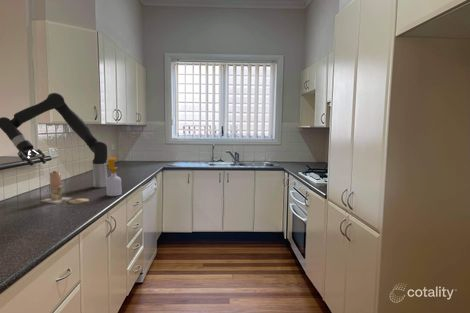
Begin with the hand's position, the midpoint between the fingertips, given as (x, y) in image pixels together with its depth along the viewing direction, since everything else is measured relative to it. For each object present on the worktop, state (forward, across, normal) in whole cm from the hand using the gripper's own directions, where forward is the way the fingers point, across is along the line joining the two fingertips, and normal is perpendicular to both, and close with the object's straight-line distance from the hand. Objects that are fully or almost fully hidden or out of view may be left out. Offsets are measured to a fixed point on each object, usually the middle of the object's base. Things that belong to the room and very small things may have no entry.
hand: (39, 163), depth 183 cm
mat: (+34, +2, -2) cm, 34 cm away
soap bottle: (+40, +23, -9) cm, 47 cm away
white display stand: (+24, 0, +7) cm, 25 cm away
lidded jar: (+18, 0, +2) cm, 18 cm away
